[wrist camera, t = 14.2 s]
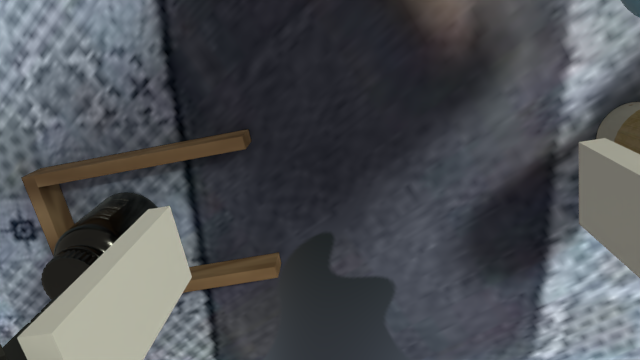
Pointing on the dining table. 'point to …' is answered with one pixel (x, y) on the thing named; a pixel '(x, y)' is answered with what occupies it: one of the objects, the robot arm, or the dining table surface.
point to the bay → (47, 180)
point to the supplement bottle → (91, 239)
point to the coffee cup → (622, 126)
